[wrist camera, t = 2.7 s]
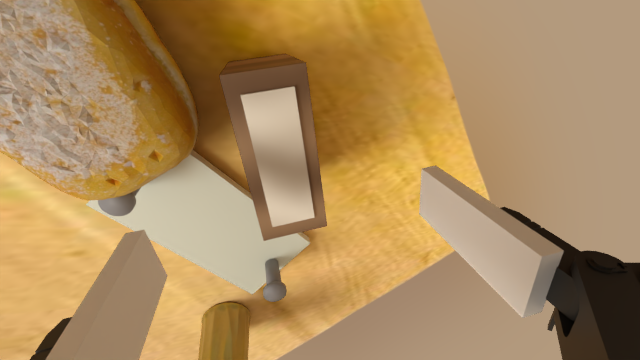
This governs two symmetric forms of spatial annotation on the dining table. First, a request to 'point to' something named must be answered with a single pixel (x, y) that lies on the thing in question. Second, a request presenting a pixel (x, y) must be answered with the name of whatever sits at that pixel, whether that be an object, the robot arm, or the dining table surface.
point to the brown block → (276, 142)
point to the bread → (91, 96)
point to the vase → (225, 333)
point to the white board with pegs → (207, 225)
